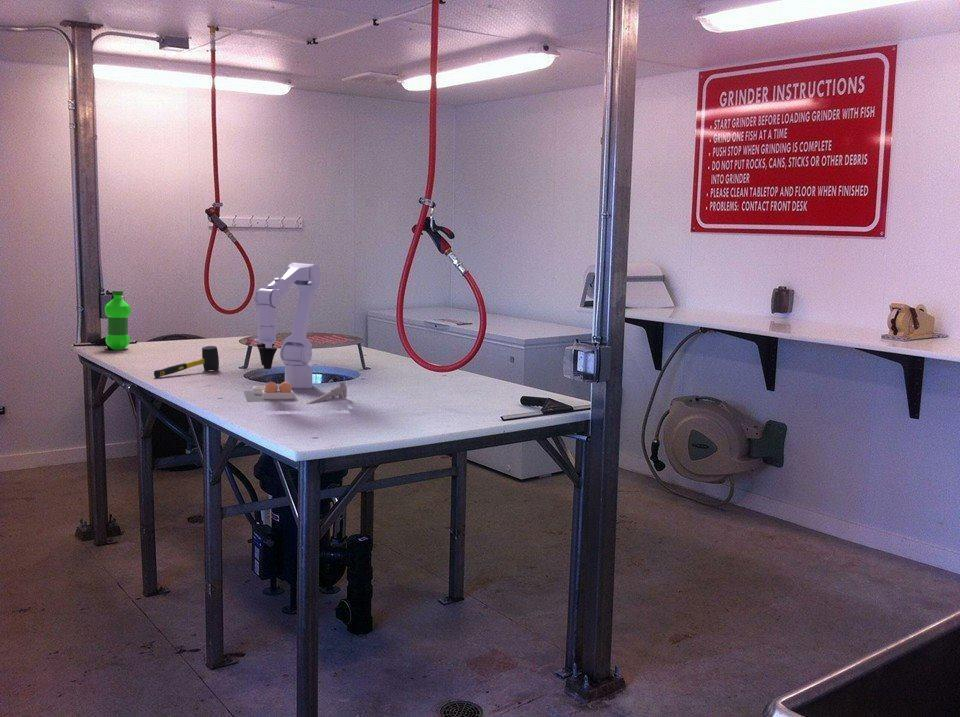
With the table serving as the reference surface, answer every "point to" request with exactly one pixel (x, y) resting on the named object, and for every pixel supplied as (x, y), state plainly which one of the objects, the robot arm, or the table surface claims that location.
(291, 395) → the hollow rectangular frame
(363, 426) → the table surface
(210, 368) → the mallet
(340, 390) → the caliper
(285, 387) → the ball left
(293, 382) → the robot arm
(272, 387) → the ball
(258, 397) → the mat
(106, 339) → the plastic bottle
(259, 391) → the tube
